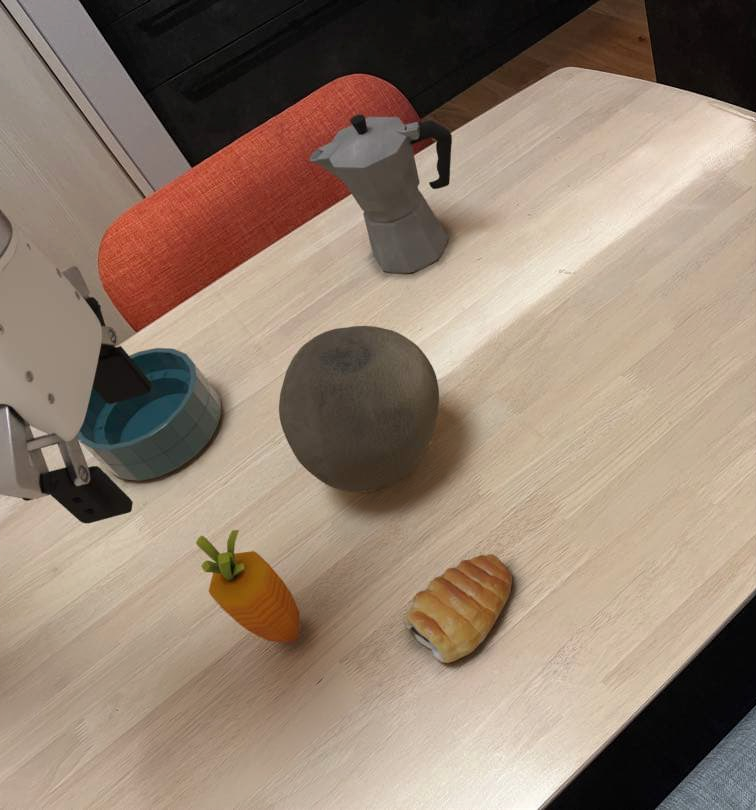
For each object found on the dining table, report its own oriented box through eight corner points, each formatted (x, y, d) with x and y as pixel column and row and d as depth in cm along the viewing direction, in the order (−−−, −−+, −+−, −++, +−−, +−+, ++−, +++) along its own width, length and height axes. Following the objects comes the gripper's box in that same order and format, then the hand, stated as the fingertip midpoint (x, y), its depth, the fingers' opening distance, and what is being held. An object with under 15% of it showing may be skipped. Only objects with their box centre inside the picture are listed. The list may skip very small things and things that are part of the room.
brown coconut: (429, 530, 81) (370, 429, 70) (296, 509, 86) (221, 410, 75) (480, 408, 89) (435, 299, 78) (355, 394, 94) (296, 290, 83)
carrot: (262, 627, 79) (173, 537, 68) (315, 601, 79) (235, 508, 68) (273, 676, 76) (182, 590, 64) (328, 648, 76) (247, 559, 65)
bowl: (82, 478, 95) (47, 444, 90) (144, 381, 103) (114, 345, 98) (187, 488, 91) (156, 453, 86) (243, 387, 99) (217, 350, 94)
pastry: (477, 549, 79) (466, 526, 76) (534, 590, 75) (524, 567, 73) (401, 631, 76) (386, 610, 73) (457, 678, 72) (443, 658, 69)
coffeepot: (356, 287, 105) (291, 157, 92) (360, 235, 111) (300, 106, 98) (485, 258, 103) (438, 122, 90) (482, 207, 110) (438, 73, 96)
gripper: (-92, 168, 51) (87, 370, 64) (-209, 395, 39) (38, 584, 52) (34, 131, 50) (189, 341, 63) (-47, 349, 39) (162, 551, 52)
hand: (120, 451), depth 58 cm, fingers open, 9 cm apart
